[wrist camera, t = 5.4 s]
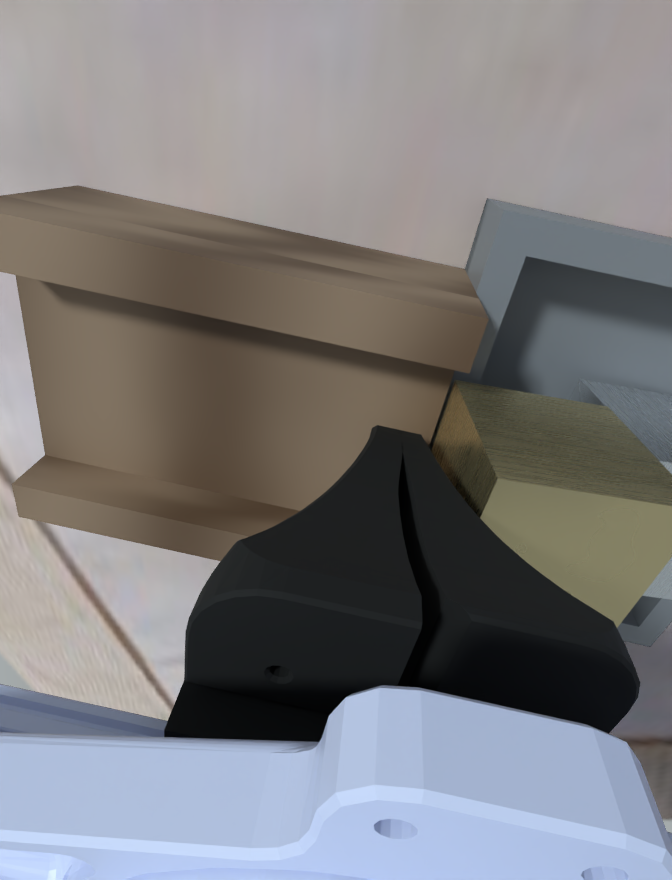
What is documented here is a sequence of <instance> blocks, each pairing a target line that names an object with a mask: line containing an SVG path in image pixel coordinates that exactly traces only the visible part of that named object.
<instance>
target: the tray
mask: <svg viewBox="0 0 672 880" xmlns="http://www.w3.org/2000/svg"><path fill="white" fill-rule="evenodd" d="M465 270H466V273H467V275H468V277H469V279H470V281H471V283H472V285H473V287H474V289H475V291H476V293H477V296H478V298H479V300H480V302H481V304H482V306H483V308H484V310H485V312H486V314H487V316H488V319H489V320H488V323H487V325H486V328H485V331H484V334H483V337H482V339H481V342H480V345H479V348H478V351H477V354H476V356H475V359H474V362H473V365H472V368H471V370H470V373H465V372H460V371H454V374H453V377H452V380H451V383H450V386H449V389H448V392H447V395H446V398H445V401H444V404H443V407H442V410H441V413H440V416H439V419H438V421H437V424H436V427H435V430H434V433H433V436H432V439H431V442H430V445H429V449H430V450H431V448H432V446H433V443H434V440H435V437H436V434H437V431H438V428H439V425H440V422H441V419H442V416H443V413H444V411H445V408H446V405H447V402H448V399H449V396H450V393H451V390H452V387H453V384H454V381H455V380H458V381H464V382H469V383H475V384H481V385H487V386H492V387H498V388H504V389H510V390H515V391H521V392H527V393H533V394H538V395H544V396H550V397H556V398H561V399H567V400H570V398H571V396H572V394H573V392H574V390H575V388H576V386H577V384H578V382H579V380H580V379H584V380H589V381H595V382H601V383H606V384H612V385H617V386H623V387H629V388H634V389H640V390H645V391H651V392H657V393H662V394H668V395H672V238H669V237H664V236H660V235H655V234H651V233H646V232H641V231H637V230H632V229H627V228H623V227H618V226H613V225H609V224H604V223H599V222H595V221H590V220H585V219H581V218H576V217H572V216H567V215H562V214H558V213H553V212H548V211H544V210H539V209H534V208H530V207H525V206H520V205H516V204H511V203H506V202H502V201H497V200H493V199H488V198H487V200H486V204H485V207H484V210H483V213H482V216H481V220H480V223H479V226H478V229H477V232H476V236H475V239H474V242H473V245H472V248H471V252H470V255H469V258H468V261H467V264H466V268H465ZM671 622H672V600H670V599H663V598H656V597H649V596H641V598H640V599H639V600H638V602H637V603H636V604H635V605H634V607H633V608H632V609H631V611H630V612H629V613H628V615H627V616H626V617H625V618H624V620H623V621H622V622H621V624H620V625H619V626H618V628H617V629H618V631H619V633H620V635H621V637H622V640H623V641H626V642H631V643H635V644H640V645H644V646H649V647H650V646H651V645H652V644H653V643H654V642H655V640H656V639H657V638H658V637H659V636H660V635H661V633H662V632H663V631H664V630H665V629H666V627H667V626H668V625H669V624H670V623H671Z"/></svg>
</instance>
